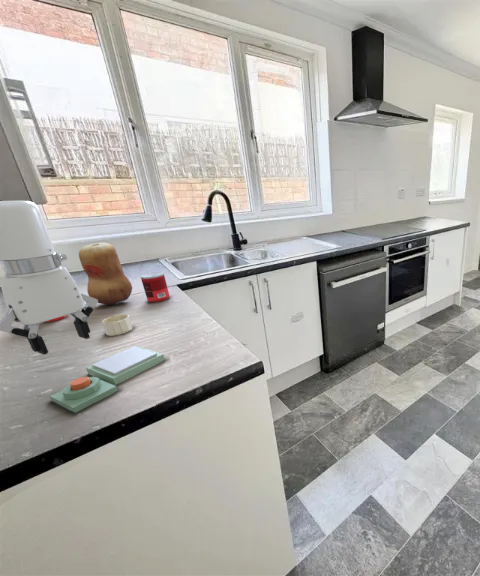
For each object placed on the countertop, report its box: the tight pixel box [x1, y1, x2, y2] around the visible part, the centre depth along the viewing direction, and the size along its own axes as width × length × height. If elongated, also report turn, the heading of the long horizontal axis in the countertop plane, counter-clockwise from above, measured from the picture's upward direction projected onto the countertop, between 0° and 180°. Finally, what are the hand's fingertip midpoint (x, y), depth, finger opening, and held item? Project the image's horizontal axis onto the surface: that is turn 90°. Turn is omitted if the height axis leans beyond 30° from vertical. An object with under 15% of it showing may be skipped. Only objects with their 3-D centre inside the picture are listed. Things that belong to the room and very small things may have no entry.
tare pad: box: [49, 376, 118, 414], centre depth 71 cm, size 10×8×3 cm
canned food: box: [140, 271, 170, 303], centre depth 129 cm, size 8×8×11 cm
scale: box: [85, 345, 166, 386], centre depth 82 cm, size 12×12×3 cm
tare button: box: [69, 376, 91, 391], centre depth 70 cm, size 3×3×2 cm
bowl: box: [101, 313, 133, 337], centre depth 102 cm, size 7×7×4 cm
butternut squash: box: [78, 242, 133, 306], centre depth 123 cm, size 14×13×25 cm
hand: (64, 344), depth 67 cm, fingers open, 6 cm apart
